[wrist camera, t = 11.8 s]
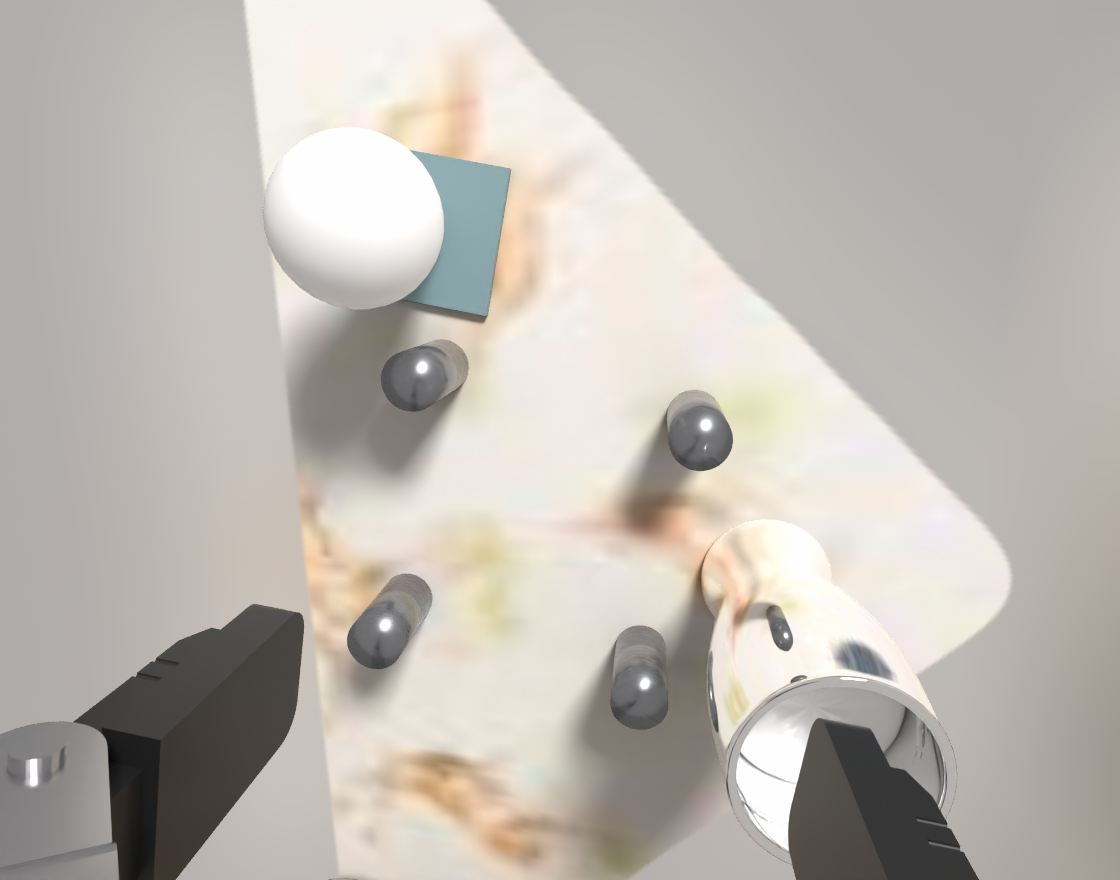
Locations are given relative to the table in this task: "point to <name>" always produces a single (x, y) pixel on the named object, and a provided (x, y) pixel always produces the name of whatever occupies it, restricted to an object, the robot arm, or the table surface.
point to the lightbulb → (353, 218)
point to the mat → (465, 233)
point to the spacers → (407, 598)
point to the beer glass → (802, 676)
